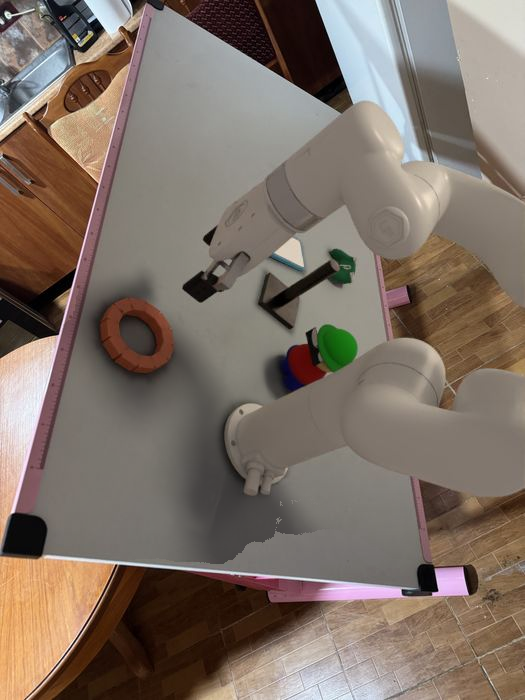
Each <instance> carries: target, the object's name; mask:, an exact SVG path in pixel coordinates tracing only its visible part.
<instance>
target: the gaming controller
mask: <svg viewBox="0 0 525 700" xmlns="http://www.w3.org/2000/svg"><path fill="white" fill-rule="evenodd" d="M330 255H331V256H332V258H333V259H334V260H335V261H336V262H337V263H338V265H339V267H340V270H339V271H338V272H337V273H335V274H334V275H332V276H330V277H329V278H330V279H331V280H333V281H335V282H337V283H340V284H343V285H346V284H352V283H353V282H354V279H355V273H356V267H357V265H358V257H354V256H351V255H349V254H347V253H346V252H345V251H343V250H342V249H341V248H333V249H331V250H330Z"/></svg>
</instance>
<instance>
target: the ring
mask: <svg viewBox="0 0 525 700" xmlns="http://www.w3.org/2000/svg"><path fill="white" fill-rule="evenodd" d="M125 316H132V317H137V318H139V319H140V320H142V321H143V322H144V323H146V324H148V326H149V328H150V330H151V331H152V332H153V335H154V337H155V342H156V347H155V349H154V352H153V354H152V355H141V354H139V353H137V352H135V351H134V350H132V349H131V348H129V346H128V345H127V343H126V342H125V340H124V339H123V337H122V336H121V331H120V321H121V319H122V318H123V317H125ZM99 323H100V324H99V331H100V339H101V342H102V346H103V347H104V348H105V350H106V352H107V354H108V355H109V356H110V358H111V359H112V360H114V362H115V363H116V364H118V365H119V366H121V367H122V368H124V369H126V370H127V371H129V372H131V373H139V374H150V373H152V372H154V371H155V370H157V369H159V368H161V367H162V366H164V365H165V364H166V363H168V362H169V361H170V359H171V357H172V354H173V352H174V349H175V340H174V334H173V329H172V327H171V325H170V323H169V321H167V319H166V317H165V315H164V314H163V312H161V311H160V310H159V309H158V308H157V307H155V306H153V304H151V303H149V302H148V301H145V299H139V298H134V297H125V298H123V299H120V300H117V301H115V302H114V303H112V304H111V306H109V307H108V308H107V309H106V310H105V313H103V316H102V317H101V320H100V321H99Z"/></svg>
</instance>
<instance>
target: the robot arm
mask: <svg viewBox="0 0 525 700" xmlns="http://www.w3.org/2000/svg"><path fill="white" fill-rule="evenodd" d="M404 157H405V144H404V141H403V138H402V136H401V133H400V131H399V129H398V128H397V126H396V124H395V122H394V120H393V119H392V118H391V116H390V115H389V114H388V113H387V112H386V111H385V109H383V108H382V107H381V106H380V105H378V104H377V103H375V102H374V101H371V100H360V101H358V102H355V103H353V104H352V105H350V106H349V107H348V108H347V109H345V110H344V111H343V112H342V113H341V114H339V115H338V116H337V117H336V118H335V119H333V120H332V121H331V122H330V123H329V124H328V125H326V126H325V127H323V128H322V130H320V131H319V132H318V133H317V134H315V135H314V136H313V137H312V138H311V139H309V140H308V141H307V142H306V143H305V144H304V145H303V146H302V147H300V148H299V149H298V150H297V151H295V152H294V153H292V155H290V156H289V157H288V158H287V159H286V160H284V162H282V163H281V164H280V165H278V166H277V167H276V168H275V169H274V170H272V171H271V172H270V173H268V174H267V175H266V177H265V178H264V180H263V181H261V182H260V183H258V184H257V185H256V186H253V188H251V189H250V190H249V191H247V192H246V193H245V194H244V195H242V196H240V198H239V197H238V199H236V200H235V201H234V202H233V203H231V204H230V205H229V206H228V207H227V208H226V209H225V210H224V211H223V213H222V215H221V217H220V219H219V221H218V224H217V225H216V226H214V227H213V228H212V229H210V230H209V231H208V232H207V233H206V234H205V235H203V237H202V241H203V242H204V243H205V244H206V246H208V256H209V258H210V259H212V260H213V261H212V262H211V263H210V265H209V266H208V267H207V268H206V270H205V271H204V270H200V271H199V272H198V273H196V274H195V275H193V276H192V277H191V278H189V279H188V280H187V281H186V282H185V283H183V284H182V287H181V289H182V291H184V292H185V293H186V294H188V295H189V297H191V298H193V299H194V300H195V301H196V302H198V303H201V304H202V303H204V302H205V301H207V300H208V299H210V298H211V297H212V296H214V295H215V294H216V293H223V292H224V291H228V290H230V289H231V288H232V287H233V286H234V284H235V283H236V281H237V279H238V278H241V277H242V276H244V275H245V274H247V273H249V272H251V271H252V270H254V269H255V268H256V267H258V266H259V265H260V264H262V263H263V262H265V261H266V260H267V259H268V258H270V256H271V255H272V254H273V253H274V252H275V251H277V250H278V249H279V248H280V247H281V246H283V245H284V244H285V243H286V242H287V241H288V240H289V239H291V238H292V237H293V236H294V237H295V235H296V234H305V233H307V232H308V231H309V230H311V229H312V228H314V227H316V226H317V225H318V224H319V223H321V222H323V221H324V220H325V219H327V218H328V217H329V216H331V215H332V214H334V213H335V212H337V211H338V210H339V209H341V208H342V207H344V206H345V207H346V209H347V211H348V214H349V215H350V218H351V221H352V223H353V225H354V228H355V230H356V232H357V234H358V235H359V237H360V239H361V241H362V242H363V243H364V245H365V246H366V247H367V248H368V249H369V250H370V251H371V252H372V253H373V254H375V255H376V256H378V257H380V258H383V259H387V260H391V261H392V260H394V261H395V260H403V259H405V258H408V257H410V256H411V255H413V254H415V253H417V252H418V251H419V250H420V249H421V248H422V247H423V245H425V243H426V242H427V240H428V239H429V237H430V235H431V234H433V235H436V236H437V237H441V238H443V239H445V240H448V241H451V242H453V243H454V244H456V245H458V246H460V247H463V248H464V249H466V250H467V251H469V252H470V253H472V254H473V255H474V256H476V257H477V258H478V259H479V260H480V261H481V262H483V264H485V266H486V267H487V268H488V269H489V271H490V272H491V274H492V275H493V277H494V278H495V280H496V282H497V283H498V284H499V286H500V288H501V289H502V291H503V292H504V293H505V294H506V295H507V297H508V298H509V300H511V301H512V302H513V303H514V304H516V305H517V306H519V307H520V308H523V309H525V201H523V200H522V199H519V197H516V196H515V195H513V194H512V193H510V192H508V191H506V190H504V189H502V187H501V188H500V187H499V186H497V185H495V184H493V183H490V182H488V181H486V180H483V179H481V178H478V177H475V176H473V175H470V174H467V173H464V172H462V171H459V170H457V169H453V168H451V167H448V166H445V165H443V164H440V163H436V162H432V161H428V160H409V161H405V162H403V160H404ZM402 162H403V163H402ZM226 260H231V262H230V263H229V264H228V263H226ZM218 267H222V268H223V269H224V270H225V271H224V273H223V274H221V275H220V276H218V275H216V274H214V272H216V270H217V269H218ZM445 386H446V367H445V364H444V361H443V359H442V357H441V356H440V354H439V353H438V352H437V350H436V349H435V348H434V347H433V346H432V345H430V344H428V343H427V342H425V341H423V340H422V339H421V340H420V339H418V338H414V337H413V338H412V337H397V338H393V339H389V340H386V341H383V342H382V343H379V344H378V345H376V346H374V347H372V348H371V349H369V350H368V351H366V352H365V353H363V354H362V355H360V356H359V357H357V358H355V359H354V360H353V362H351V363H350V364H348V365H346V366H345V367H343V368H341V369H339V370H337V371H336V372H334V373H333V372H331V373H330V374H328V375H325V376H324V377H323V378H322V379H319V380H317V381H315V382H313V383H311V384H309V385H307V386H304V387H301V388H299V389H297V390H295V391H291V392H290V393H287V394H286V395H284V396H281V397H280V398H277V399H276V400H273V401H271V402H269V403H267V404H265V405H262V404H261V405H260V404H258V403H252V402H251V403H244V404H241V405H240V406H238V407H236V408H235V409H234V410H233V411H232V412H231V413H230V414H229V416H228V417H227V420H226V422H225V426H224V436H223V437H224V444H225V450H226V453H227V456H228V458H229V460H230V464H231V465H232V466H233V468H234V469H235V470H236V471H237V472H238V474H239V475H240V476H241V477H242V478H243V479H245V483H244V487H243V493H244V494H246V495H247V496H253V497H254V496H257V495H258V491H259V487H260V491H259V492H260V494H263V495H266V496H267V495H270V494H271V489H272V485H274V484H277V483H279V481H281V480H282V479H283V478H284V477H285V476H286V474H287V472H288V470H289V467H294V466H295V465H298V464H301V463H303V462H306V461H309V460H311V459H314V458H317V457H320V456H322V455H325V454H328V453H332V452H334V451H336V450H339V449H342V448H345V447H349V449H351V451H352V452H353V453H355V455H357V456H359V457H360V458H362V459H363V460H365V461H367V462H369V463H371V464H373V465H376V466H377V467H381V468H383V469H385V470H389V471H392V472H395V473H398V474H400V475H404V476H407V477H410V478H414V479H417V480H420V481H423V482H425V483H428V484H432V485H436V486H439V487H442V488H445V489H448V490H451V491H454V492H458V493H461V494H465V495H468V496H473V497H479V498H500V497H507V496H511V495H513V494H516V493H518V492H520V491H522V490H523V489H525V374H522V373H518V372H514V371H510V370H505V369H501V368H500V369H499V368H489V367H487V368H486V367H485V368H480V369H476V370H474V371H472V372H470V373H468V374H467V375H466V376H465V377H464V378H463V379H462V380H461V382H460V384H459V385H458V387H457V390H456V393H455V395H454V397H453V400H452V404H451V406H450V409H446V408H443V407H442V408H441V407H440V403H441V400H442V397H443V394H444V391H445Z"/></svg>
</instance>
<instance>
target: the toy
mask: <svg viewBox="0 0 525 700" xmlns="http://www.w3.org/2000/svg"><path fill="white" fill-rule="evenodd" d="M305 337H306V341H307V342H306V343H301V344H294V345H291V346H290V347H288V349H287V351H286V355H285V358H284V359H281V361H280V369H281V372H282V373H283V375H284V378H283V383H284V386H285V388H286V389H287V390H288V391H290V392H294V391H296V390H298V389H300V388H302V387H304V386H307V385H309V384H311V383H313V382H315V381H317V380H319V379H322V378H324V377H326V376H327V374H328V373H334V372H336V371H337V370H339V369H341V368H343V367H345V366H346V365H348V364H350V363H351V362H353V361H354V360H356V357H357V355H358V351H359V350H358V349H359V348H358V342H357V340H356V338H355V337H354V336H353V334H352V333H351V332H349V331H348V330H345V329H342V328H338V327H336V326H334V325H332V324H330V323H329V324H327V323H326V324H324V325H321V326H320V328H319V329H318V330H317V326H315V327H312V328H310V329H309V330H307V331H306V332H305Z"/></svg>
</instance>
